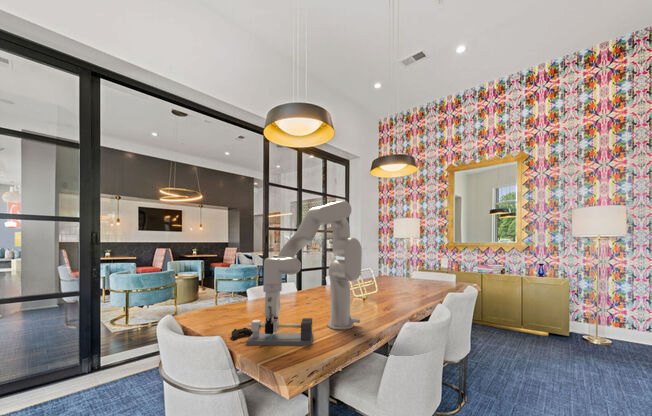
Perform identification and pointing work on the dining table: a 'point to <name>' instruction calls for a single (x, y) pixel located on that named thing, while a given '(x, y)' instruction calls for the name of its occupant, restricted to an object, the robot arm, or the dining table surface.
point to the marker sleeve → (275, 325)
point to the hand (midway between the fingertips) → (271, 329)
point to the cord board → (282, 334)
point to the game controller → (241, 332)
